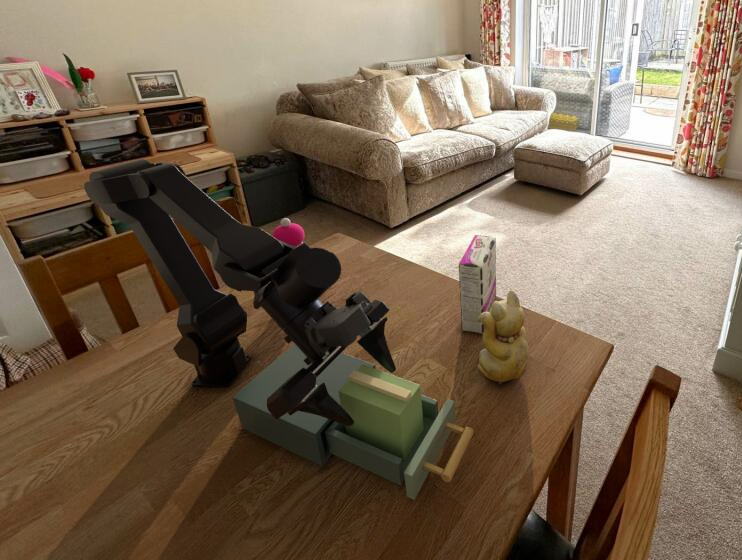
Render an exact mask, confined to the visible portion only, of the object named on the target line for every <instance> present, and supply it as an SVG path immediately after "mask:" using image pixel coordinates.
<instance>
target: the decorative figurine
mask: <svg viewBox="0 0 742 560" xmlns="http://www.w3.org/2000/svg"><path fill="white" fill-rule="evenodd" d="M478 321H479V322H482V323H483V324H484V326H485V330H484V333H483V334H482V343H483V346H484V348H482V350H480V352H479V353H478V354H479V355H478V362H479V363H478V364H477V369H478V371H479V372H480V373H481V374H482V375H483V376H485V377H486V378H487V379H489V380H491V381H494V382H497V383H498V384H499V385H502V384H504V382H508V381H513V380H517V379H520V378H521V376H522V375H523V373H524V372H525V370H526V367H527V364H528V363H529V356H530V352H529V351H530V350H529V345H528V342H527V332H526V328H525V327H524V323H525V312H524V309H523V308H522V306H521V301H520V298H519V296H518V294H517V293H516V291H515V290H514V289H510V290H509V291H508V293H507V295H506V299H502V300H496V301H494V302H493V303H492V306H491V308H490V310H489V312H483V313H481V314H480V316H479V318H478Z"/></svg>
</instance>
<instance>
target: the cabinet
mask: <svg viewBox="0 0 742 560" xmlns="http://www.w3.org/2000/svg"><path fill="white" fill-rule="evenodd" d="M325 354H326V355H325V356H324V357H323V358H322V359H324V358H325V357H326V356H327V355H328V354H329V352H328V351H327V352H326V353H325ZM305 358H306V356H305V354H304V353H303V352H302V351H301V350H300V349H299V348H298V347H297V346H296V344H295V343H293V344H292V345H291V346H290V347H289V348H288V349H287V350H285V351H284V352H283V353H282V354H281V355H280V356H279V357H278V358H276V359H275V360H273V362H271V363H270V364H269V365H268V366H267V367H266V368H265V369H264V370H262V371H261V372H260V373H259V374H258V375H257V376H255V377H254V378H252V380H251V381H250V382H248V383H247V384H246V385H244V387H242V388H241V389H240V390H239V391H238V392H237V393H236V394H234V395H233V396H232V401H233V404H234V407H235V410H236V413H237V416H238V420H239V423H240V426H241V428H242V430H245V431H247V432H249V433H251V434H253V435H255V436H258V437H259V438H262V439H264V440H266V441H268V442H270V443H272V444H274V445H276V446H278V447H281V448H283V449H285V450H287V451H289V452H291V453H293V454H295V455H296V456H298V457H301V458H303V459H306V460H308V461H310V462H312V463H314V464H316V465H318V466H320V467H324V465H325V464H327V462H328V461H329V459H330V458H331V457H332V456H333V454H331V453H330V452H329V448H328V443H327V439H326V434H325V432H326V430H327V429H328V428H329V427H330V426H331V424H332V423H333V422H334V421H333V420H330V419H327V418H324V417H322V416H319V415H315V414H310V413H306V412H301V411H297V412H295V413H294V414H292V415H289V414H288V412H287V413H286V414H284V415H283V416H281V417H280V418H278V419H277V420H276V418H275V417H274V416H273V415H272V414H271V413H270V412H269V411H268V408H267V398H268V397H270V396H271V395H272V394H273V393H274V392H275V391H276V390H277V389H278V388H279V387H280V386H281V385H282V384H283V383H285V382H286V381H287V380H288V379H289V378H290V377H291V376H293V375H294V374H295V373H297V372H298V371H299V370H301V369H302V368H305V369H307V368H308V367H309V366H310V365H311V364H312V363H311V364H310V365H307V364H306V363H305V362H304V361H303V360H304V359H305ZM362 364H364V365H366V366H369V367H372V368H375V369H377V368H376V364H374V363H372V362H369V361H366V360H363V359H361V358H358V357H355V356H352V355H349V354H347V353H344V352H341V353H340V354H339V355H338V356H337V357H336V358H335V359H334V360H333V361H332V362H331V363H330V364H329V366H328V367H327V368H326V369H325V370H324V371H323V372H322V373H321V374H320V375H319V376H318V377H317V378H316V385H317V386H319V385H321V384H322V383H323V382H324V383H325V385H326V388H327V391H328V393H329V395H330V396H331V397H332V398H333V399H334V400H335V401H336V402H337V403H338V404H339V405H340V406H341V403H340V398H339V392H338V391H339V389H340V388H341V387H342V386H343V385H344V384H345V383H346V382H347V381H348V379H349V378H348V376H349V375H350V374H351V373H352V372H353V371H354V370H355V371H357V369H358V368H359V367H360V366H361V365H362Z"/></svg>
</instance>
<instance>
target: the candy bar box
mask: <svg viewBox="0 0 742 560" xmlns="http://www.w3.org/2000/svg"><path fill="white" fill-rule="evenodd" d="M458 281H459V282H458V283H459V296H460V299H459V301H460V319H461V331H464V332H468V333H475V334H481V335H483V333H484V330H485V326H484V324H483V323H482V322H479V321H478V318H479V316H480V314H481V313H483V312H489V310H490V308H491V306H492V303H493V302H494V301H497V237H496V236H489V235H488V236H487V235H481V234H474V236H472V239H471V241H470V243H469V245H468V247H467V248H466V250H465V252H464V254H463V255H462V257H461V259H460V261H459V262H458ZM494 296H495V297H494Z"/></svg>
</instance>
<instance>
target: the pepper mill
mask: <svg viewBox="0 0 742 560" xmlns="http://www.w3.org/2000/svg"><path fill="white" fill-rule="evenodd" d="M271 236H273V237H274V238H276V239H277V240H279V241H282V242H284V243H287V244H289V245H292V246H294V247H297V246H298V245H300V244H301V243H303V242H304V240H305V238H306V237H305V231H304V229H303V227H302V226H300V224H297V223H295V222H291V220H290V219H289V218H287V217H284V218H282V219H281V220H280V225H277V227H276V228H275V229H273V231H272V233H271Z"/></svg>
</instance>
